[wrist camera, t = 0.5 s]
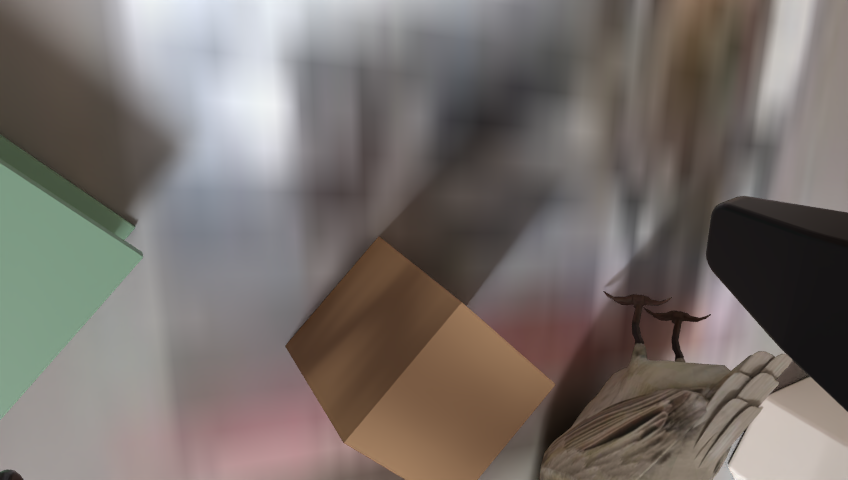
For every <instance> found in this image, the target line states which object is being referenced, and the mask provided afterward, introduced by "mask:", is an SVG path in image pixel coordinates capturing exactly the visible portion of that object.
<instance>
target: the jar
mask: <svg viewBox="0 0 848 480" xmlns="http://www.w3.org/2000/svg"><path fill="white" fill-rule="evenodd" d="M759 407H763V409H762V410H761V412H760V413H759V414H758V415H757V417H756V418H755V419H754V420H753V421H752V422H751V423H750V425H749V426H748V428H747V430H746V432H745V433H744V435H743V437H742V439H741V441H740V443H739V445H738V447H737V449H736V451H735V453H734V455H733V457H732V459H731V460H730V462H729V465H728V467H729V470H730V472H731V474H732V475H733V477H734V479H735V480H848V412H847V411H846V410H845V409H844V408H843V407H842V406H841V405H840V404H838V403H837V402H836V401H835V400H834V399H833V398H832V397H831V396H830V395H829V394H828V393H827V392H826V391H825V390H824V389H823V388H822V387H820V386H819V385H818V384H817V383H816V382H815V381H814V380H813V379H812V378H811V377H808V378H805V379H803V380H801V381H798V382H796V383H794V384H792V385H789V386H787V387H785V388H783V389H780V390H778V391H776V392H773V393H771V394H770V395H769V396H768V397H767V398H766V399H765V400H764V401H763V402H762V404H761V405H760V406H759Z"/></svg>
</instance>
